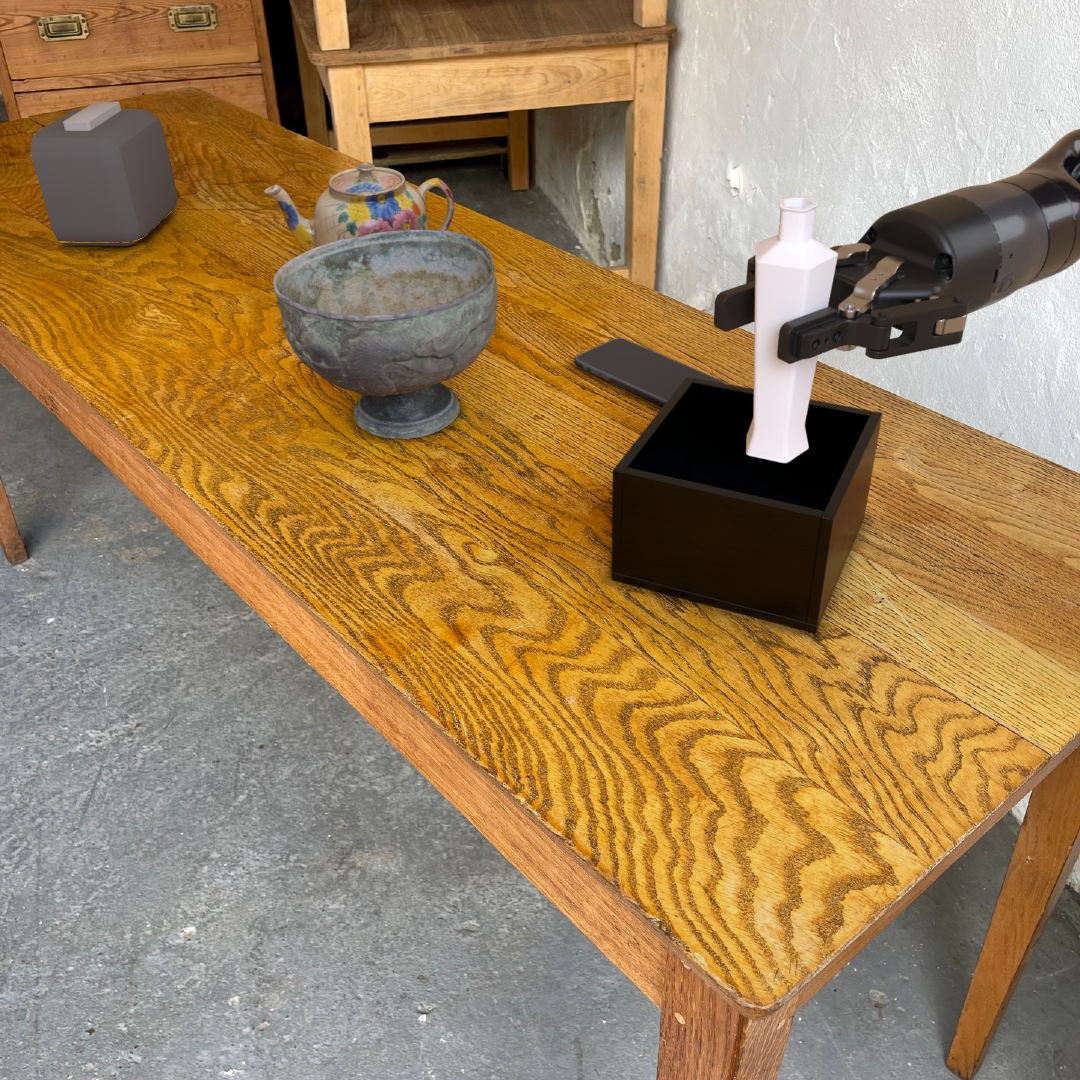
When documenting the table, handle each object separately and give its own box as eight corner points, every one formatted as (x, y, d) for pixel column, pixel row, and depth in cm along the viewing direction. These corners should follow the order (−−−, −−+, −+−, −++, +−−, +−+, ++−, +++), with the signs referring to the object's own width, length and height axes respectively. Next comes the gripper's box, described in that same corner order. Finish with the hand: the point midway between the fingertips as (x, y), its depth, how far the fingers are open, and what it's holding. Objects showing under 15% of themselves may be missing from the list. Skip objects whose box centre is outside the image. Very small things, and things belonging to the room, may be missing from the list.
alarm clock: (111, 209, 157) (81, 94, 148) (188, 210, 156) (163, 94, 146) (59, 252, 143) (23, 128, 134) (142, 253, 142) (112, 128, 133)
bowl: (291, 383, 111) (266, 239, 103) (479, 357, 115) (469, 215, 106) (307, 484, 96) (279, 324, 87) (524, 450, 99) (517, 293, 91)
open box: (864, 519, 89) (882, 412, 83) (815, 634, 78) (833, 519, 72) (681, 478, 95) (686, 376, 89) (610, 580, 84) (612, 470, 78)
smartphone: (682, 409, 103) (569, 357, 112) (681, 418, 103) (569, 366, 112) (732, 383, 107) (619, 334, 116) (731, 391, 108) (619, 343, 116)
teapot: (409, 239, 144) (399, 134, 136) (470, 268, 135) (463, 158, 127) (271, 279, 134) (252, 169, 126) (327, 313, 125) (310, 197, 117)
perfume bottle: (765, 419, 70) (785, 182, 61) (824, 442, 67) (854, 199, 59) (720, 447, 68) (734, 204, 59) (779, 472, 65) (804, 223, 56)
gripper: (872, 167, 71) (668, 228, 64) (1069, 228, 62) (856, 308, 54) (857, 277, 76) (664, 346, 68) (1039, 350, 66) (837, 440, 59)
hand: (751, 329), depth 61 cm, fingers closed on perfume bottle, 4 cm apart
